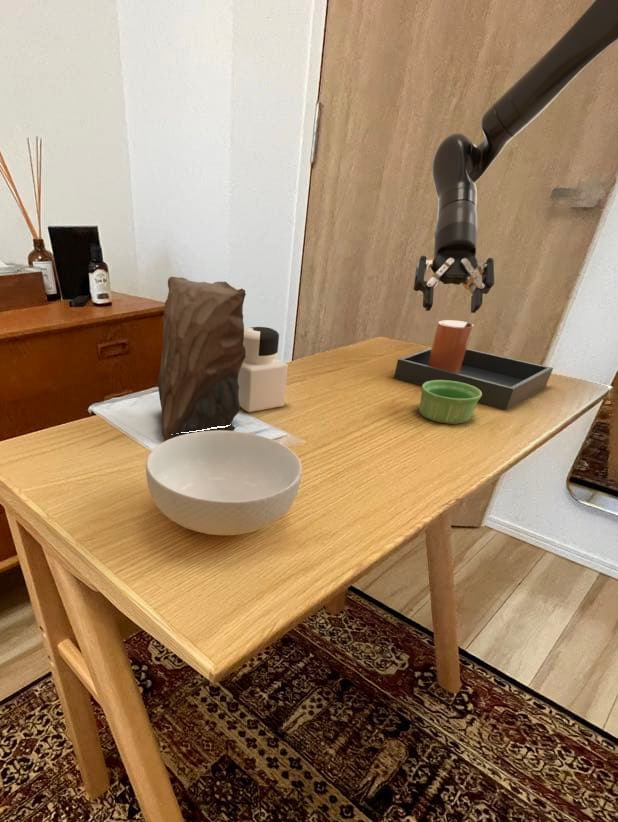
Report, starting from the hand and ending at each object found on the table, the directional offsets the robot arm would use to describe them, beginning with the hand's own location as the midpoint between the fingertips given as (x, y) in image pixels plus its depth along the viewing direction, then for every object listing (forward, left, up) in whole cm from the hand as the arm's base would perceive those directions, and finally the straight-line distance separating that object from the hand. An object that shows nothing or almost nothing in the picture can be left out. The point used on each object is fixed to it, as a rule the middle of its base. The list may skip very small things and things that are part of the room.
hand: (451, 309), depth 95 cm
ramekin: (+23, +14, -11) cm, 29 cm away
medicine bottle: (+43, -10, -11) cm, 46 cm away
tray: (+4, +9, -11) cm, 15 cm away
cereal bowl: (+71, +12, -11) cm, 73 cm away
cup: (+4, +3, -10) cm, 12 cm away
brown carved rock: (+58, -10, -11) cm, 60 cm away
